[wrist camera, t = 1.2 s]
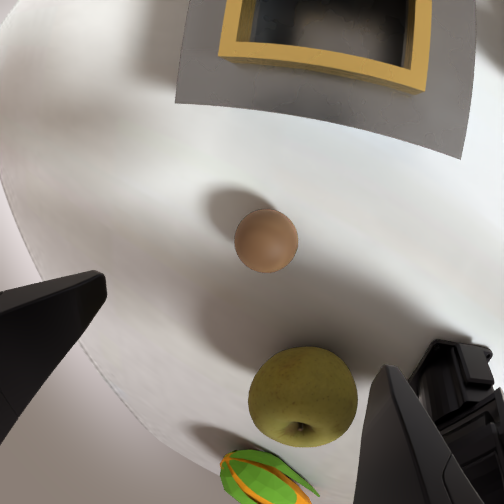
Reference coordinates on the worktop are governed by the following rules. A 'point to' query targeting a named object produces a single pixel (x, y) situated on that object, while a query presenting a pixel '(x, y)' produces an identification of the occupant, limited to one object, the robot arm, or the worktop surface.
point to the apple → (303, 397)
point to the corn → (261, 479)
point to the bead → (266, 240)
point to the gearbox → (338, 63)
